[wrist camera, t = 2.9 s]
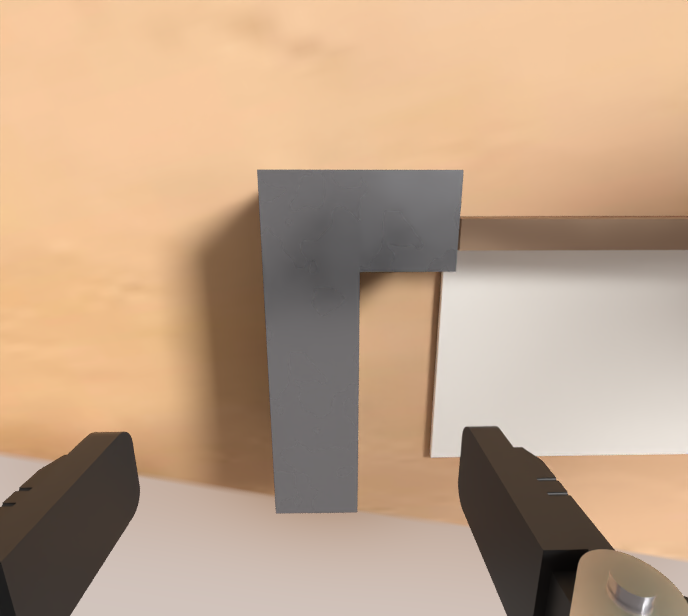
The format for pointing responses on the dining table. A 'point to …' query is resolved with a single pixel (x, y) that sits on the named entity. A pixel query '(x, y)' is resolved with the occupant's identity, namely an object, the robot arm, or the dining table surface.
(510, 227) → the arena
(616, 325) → the mat
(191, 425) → the dining table surface
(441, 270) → the bracket
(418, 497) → the dining table surface
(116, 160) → the dining table surface
